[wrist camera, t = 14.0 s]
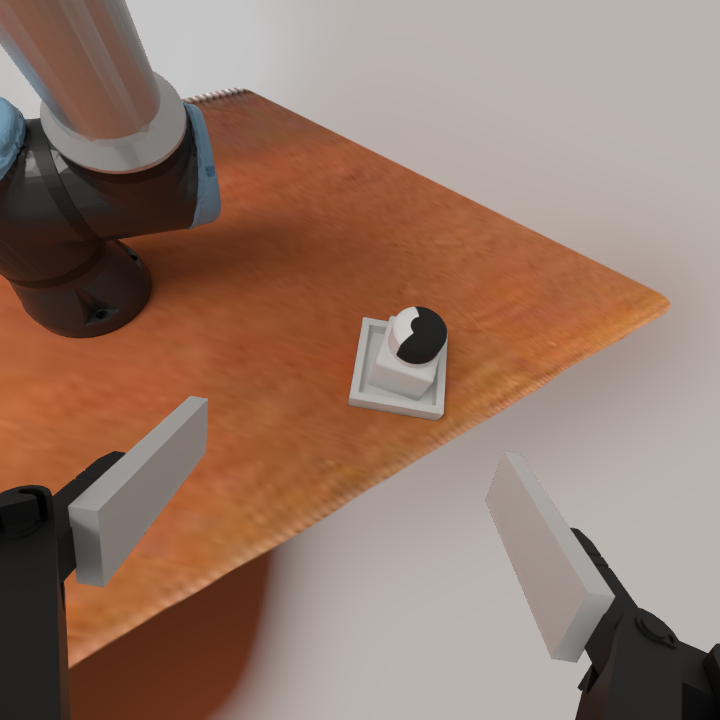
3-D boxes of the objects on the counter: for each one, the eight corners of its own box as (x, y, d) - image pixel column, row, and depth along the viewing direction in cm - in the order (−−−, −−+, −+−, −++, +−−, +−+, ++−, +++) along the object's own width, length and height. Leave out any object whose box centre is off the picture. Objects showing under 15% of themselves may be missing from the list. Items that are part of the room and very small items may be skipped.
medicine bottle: (430, 356, 51) (460, 310, 40) (418, 402, 48) (447, 365, 37) (381, 340, 51) (398, 290, 40) (367, 384, 48) (381, 343, 37)
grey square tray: (347, 405, 48) (349, 397, 45) (361, 327, 53) (363, 317, 50) (436, 420, 48) (443, 414, 45) (441, 342, 53) (447, 332, 51)
